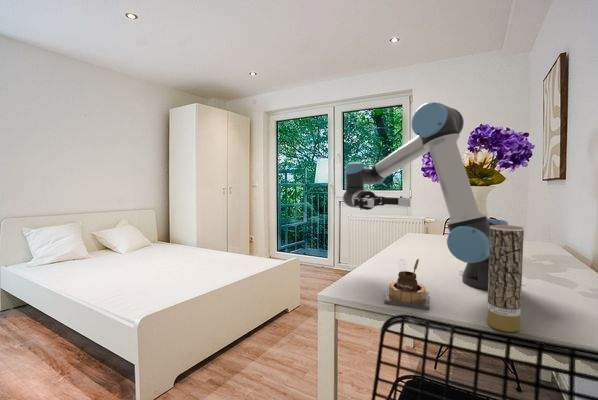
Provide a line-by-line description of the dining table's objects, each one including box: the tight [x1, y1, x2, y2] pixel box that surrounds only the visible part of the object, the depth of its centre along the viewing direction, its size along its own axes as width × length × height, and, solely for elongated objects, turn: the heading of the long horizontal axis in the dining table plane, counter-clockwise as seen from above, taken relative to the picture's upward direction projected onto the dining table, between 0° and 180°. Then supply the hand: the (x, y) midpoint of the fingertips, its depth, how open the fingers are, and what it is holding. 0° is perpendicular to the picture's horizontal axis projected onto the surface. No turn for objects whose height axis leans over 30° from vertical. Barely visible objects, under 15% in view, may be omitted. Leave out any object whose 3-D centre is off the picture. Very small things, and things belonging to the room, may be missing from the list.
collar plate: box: [383, 281, 429, 311], centre depth 94 cm, size 12×12×4 cm
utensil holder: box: [397, 258, 420, 291], centre depth 94 cm, size 6×6×12 cm
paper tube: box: [486, 224, 525, 333], centre depth 75 cm, size 7×7×25 cm
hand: (391, 203), depth 104 cm, fingers open, 13 cm apart
